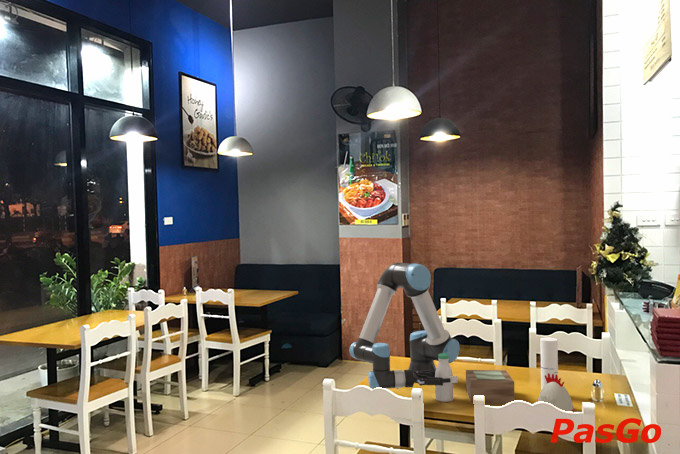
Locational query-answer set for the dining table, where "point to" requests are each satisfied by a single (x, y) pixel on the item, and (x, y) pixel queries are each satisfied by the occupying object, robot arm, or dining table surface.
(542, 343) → the cylindrical container
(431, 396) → the dining table surface
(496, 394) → the walnut stand
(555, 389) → the kitchen timer
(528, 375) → the dining table surface
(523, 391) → the dining table surface
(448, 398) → the milk bottle
